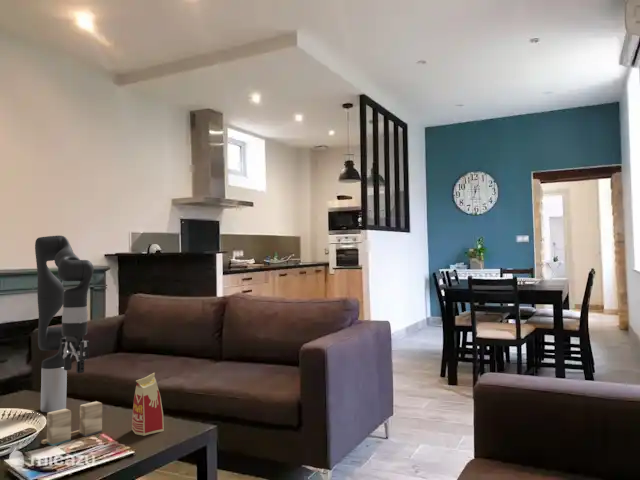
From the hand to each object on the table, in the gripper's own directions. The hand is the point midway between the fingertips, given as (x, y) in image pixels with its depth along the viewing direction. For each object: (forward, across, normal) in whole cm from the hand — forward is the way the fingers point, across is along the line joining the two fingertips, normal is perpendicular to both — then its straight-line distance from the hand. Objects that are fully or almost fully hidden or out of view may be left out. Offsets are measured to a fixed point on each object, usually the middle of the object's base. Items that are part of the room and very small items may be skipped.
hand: (73, 371), depth 163 cm
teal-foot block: (+24, -8, 0) cm, 26 cm away
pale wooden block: (+24, -8, +11) cm, 28 cm away
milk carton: (+24, +6, +24) cm, 34 cm away
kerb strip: (+24, -11, +5) cm, 27 cm away
